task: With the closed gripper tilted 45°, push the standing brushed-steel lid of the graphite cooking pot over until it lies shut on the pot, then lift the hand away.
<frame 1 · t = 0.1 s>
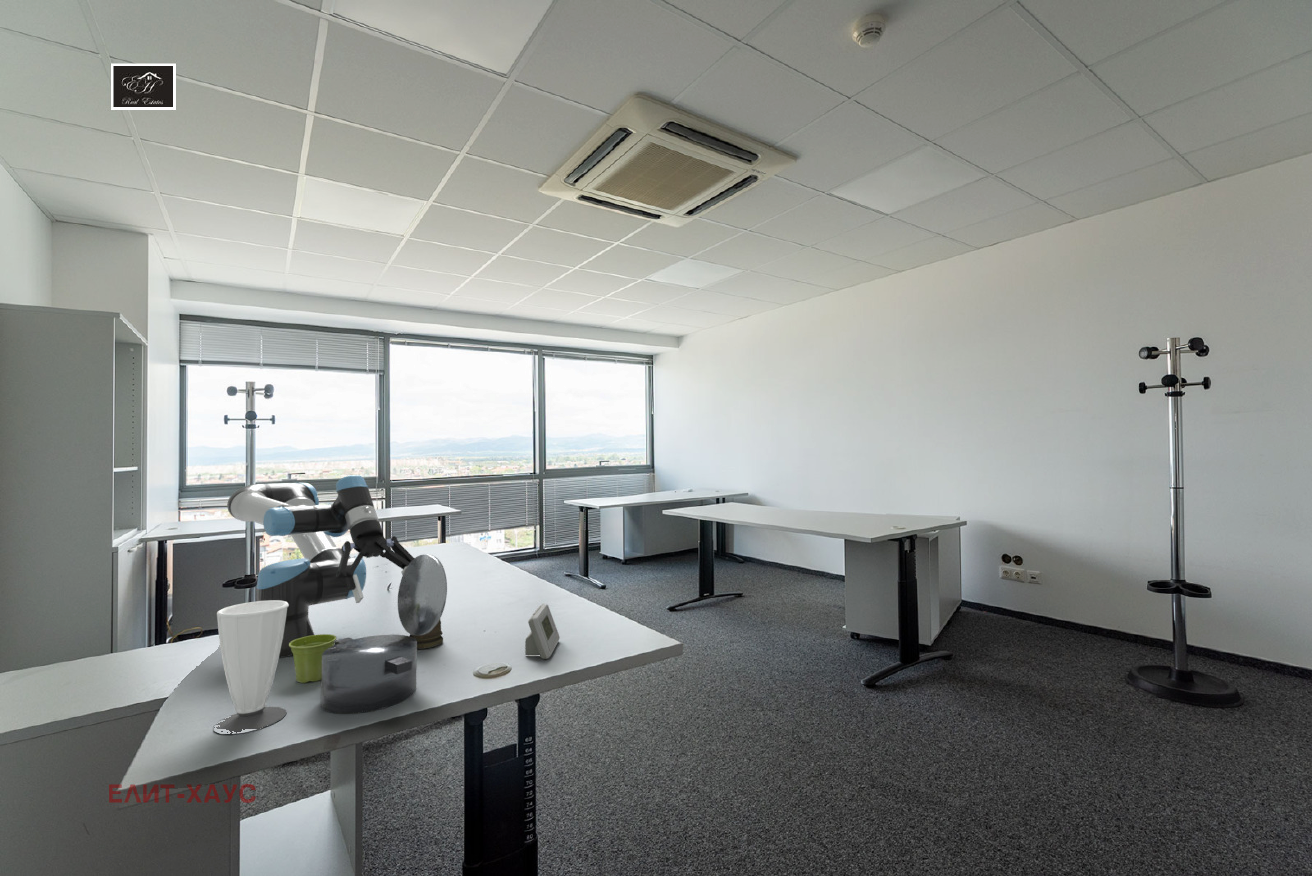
hand: (387, 595, 142), 16 cm above the table, tool tilted 35°, fingers open, 13 cm apart
cup: (250, 721, 106), on the table
container: (426, 645, 151), on the table, touching gripper
cooking pot: (370, 695, 117), on the table
digital clock: (544, 651, 145), on the table
plant pot: (312, 679, 127), on the table
pot lid: (423, 594, 128), point 19 cm above the table, hinge at 100.0°
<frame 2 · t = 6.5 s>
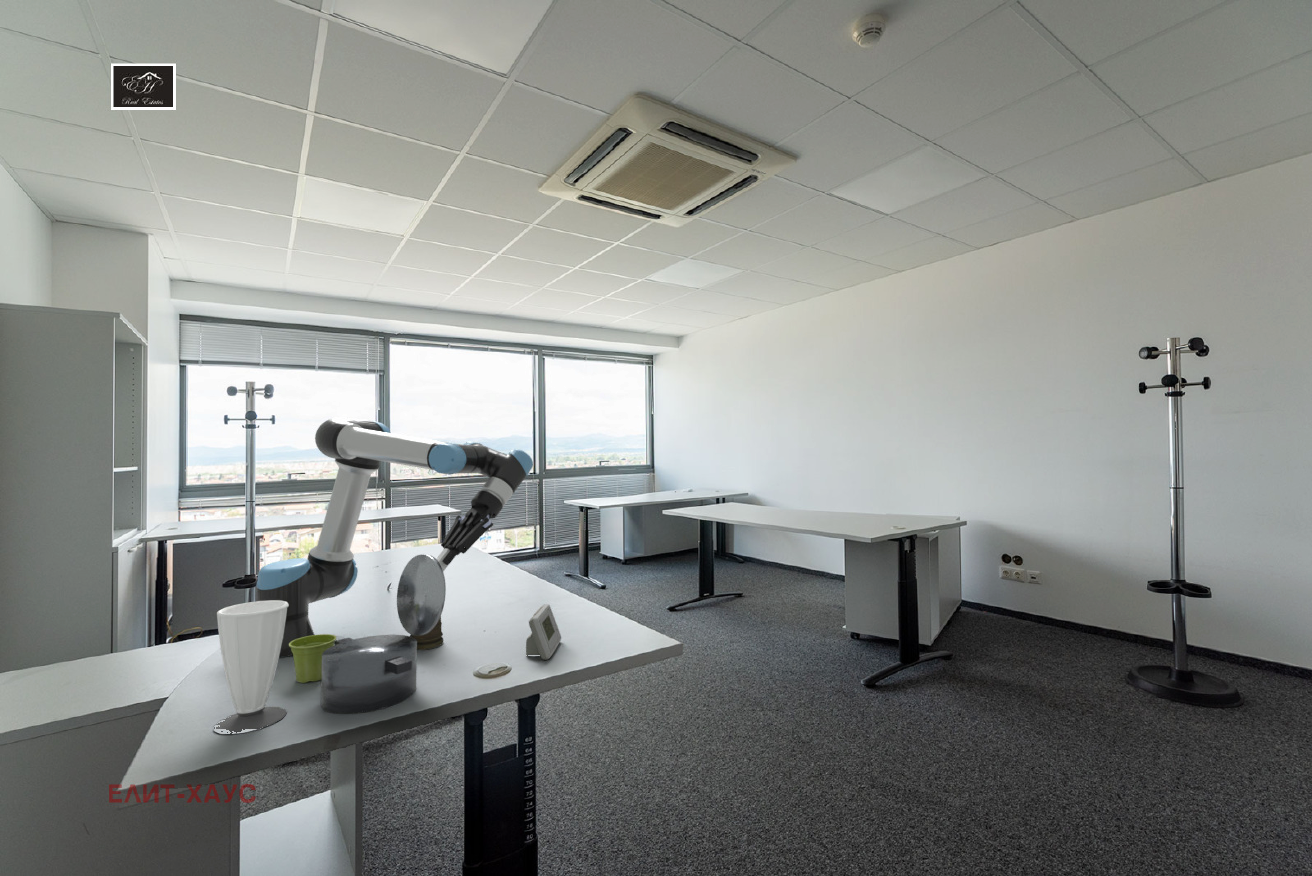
hand: (432, 574, 129), 23 cm above the table, tool tilted 45°, fingers closed
container: (426, 645, 151), on the table
pot lid: (422, 594, 128), point 19 cm above the table, hinge at 98.1°, touching gripper
everything else where it was.
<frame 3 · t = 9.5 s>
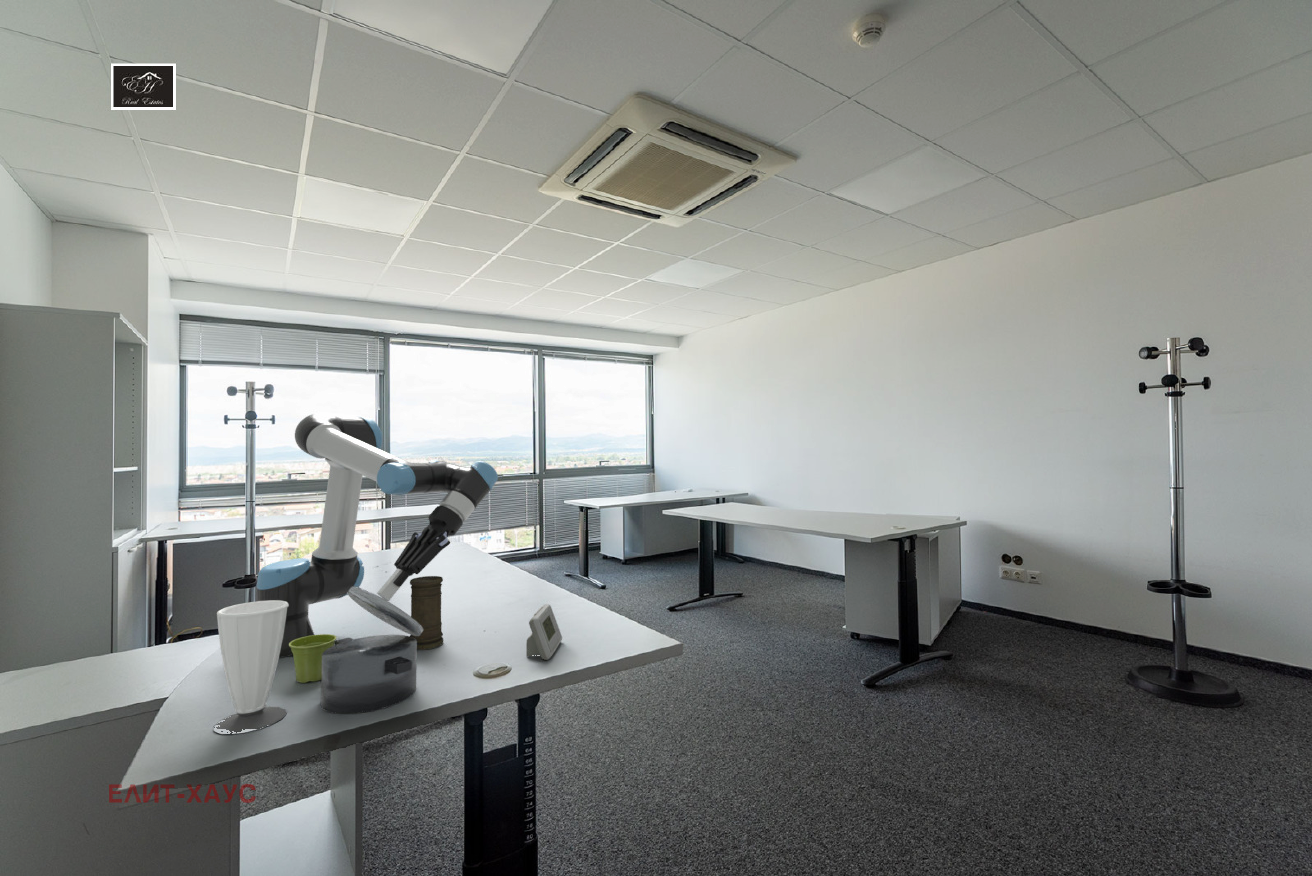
hand: (382, 597, 120), 20 cm above the table, tool tilted 45°, fingers closed
pot lid: (387, 609, 121), point 17 cm above the table, hinge at 42.6°, touching gripper
everything else where it was.
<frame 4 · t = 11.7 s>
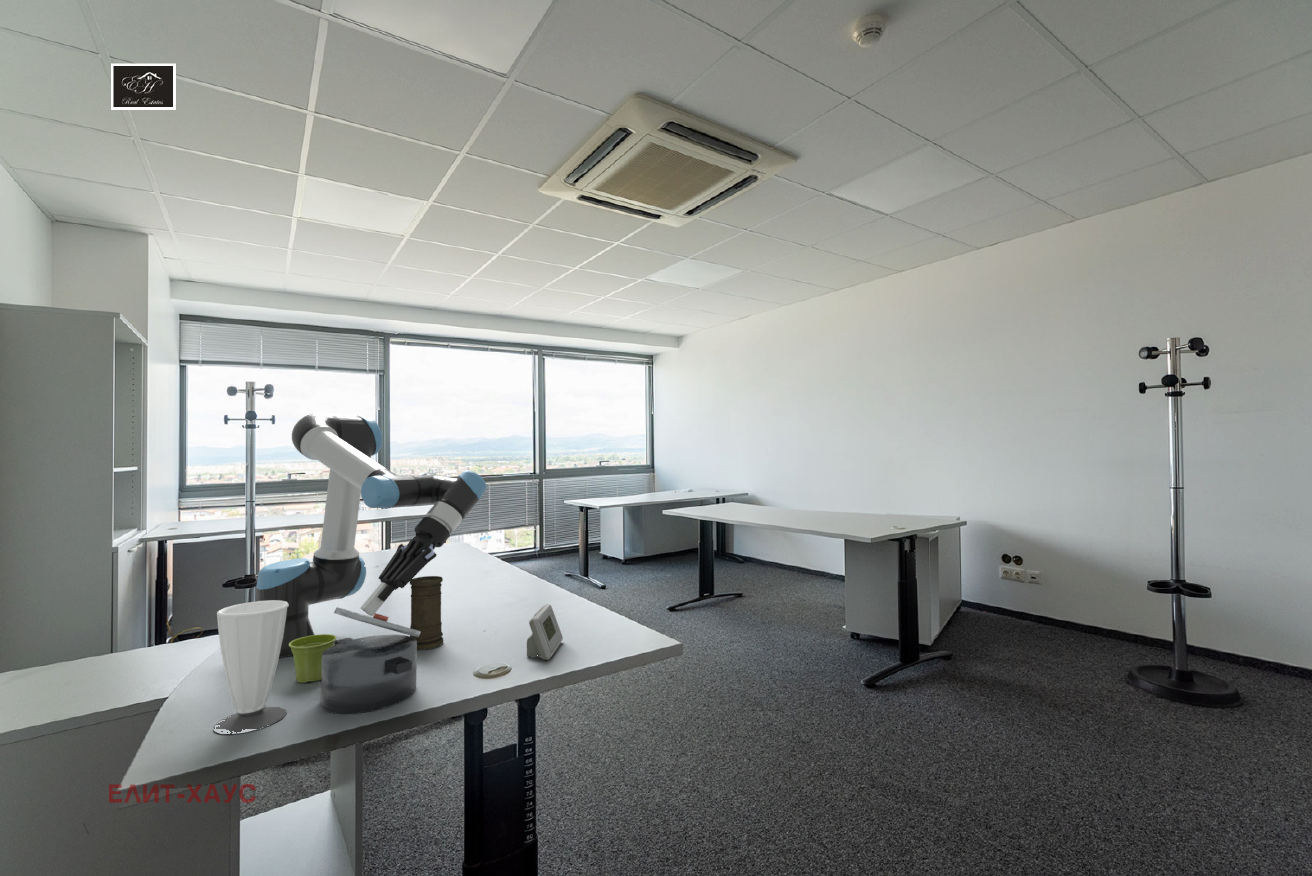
hand: (366, 612, 117), 18 cm above the table, tool tilted 45°, fingers closed
pot lid: (379, 620, 120), point 15 cm above the table, hinge at 26.8°, touching gripper
everything else where it was.
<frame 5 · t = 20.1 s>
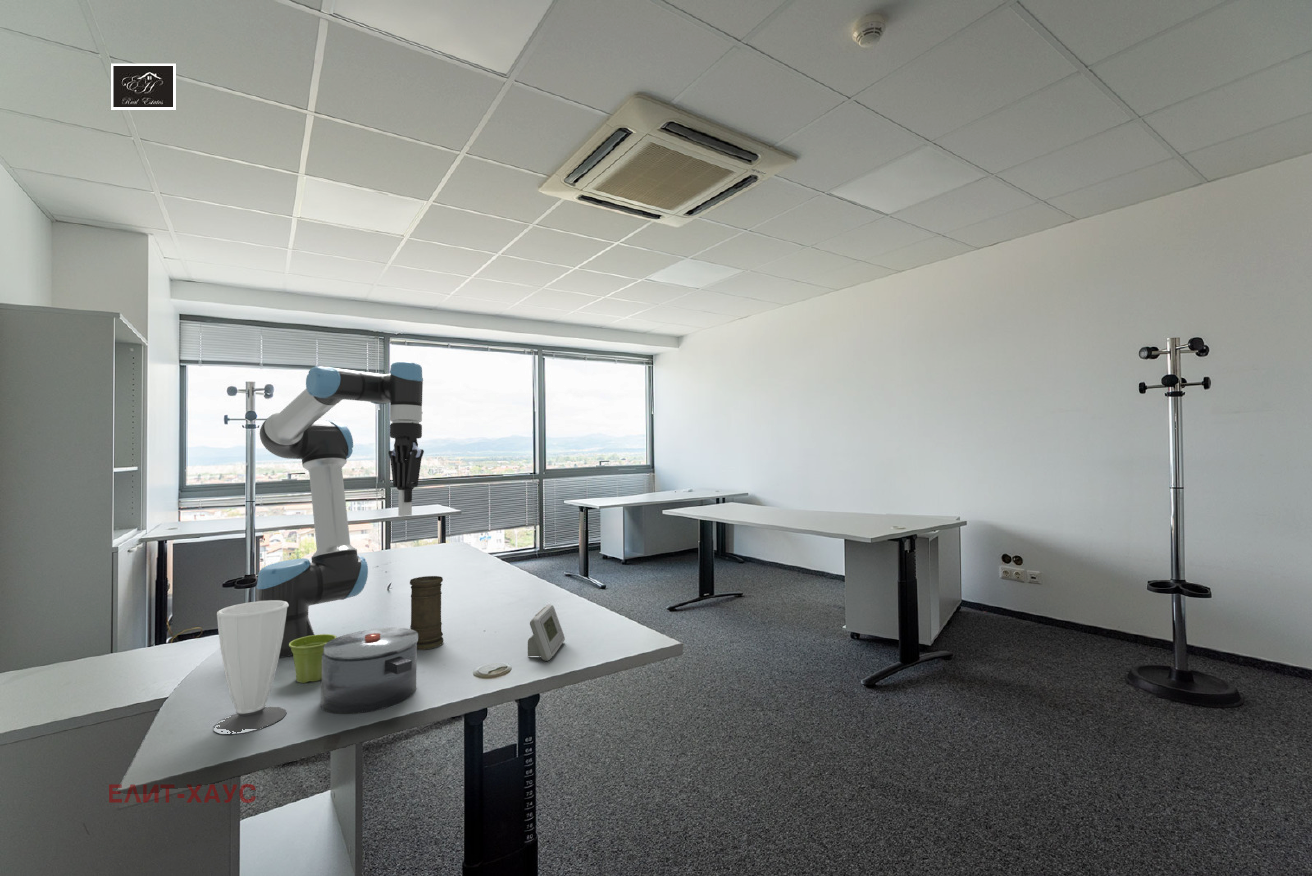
hand: (405, 515, 140), 36 cm above the table, tool pointing down, fingers closed
pot lid: (372, 640, 118), point 11 cm above the table, hinge at 0.0°
at the end: pot lid at +0° (first picture: +100°) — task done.
